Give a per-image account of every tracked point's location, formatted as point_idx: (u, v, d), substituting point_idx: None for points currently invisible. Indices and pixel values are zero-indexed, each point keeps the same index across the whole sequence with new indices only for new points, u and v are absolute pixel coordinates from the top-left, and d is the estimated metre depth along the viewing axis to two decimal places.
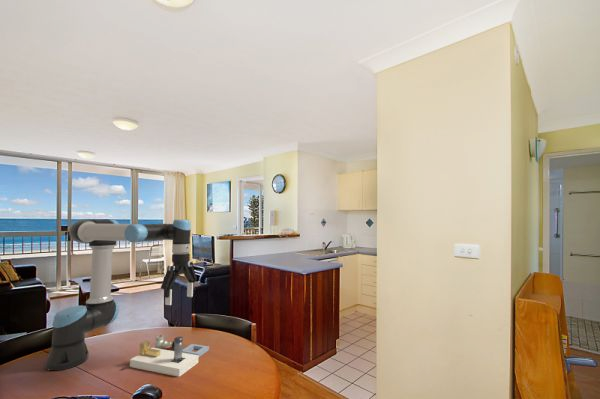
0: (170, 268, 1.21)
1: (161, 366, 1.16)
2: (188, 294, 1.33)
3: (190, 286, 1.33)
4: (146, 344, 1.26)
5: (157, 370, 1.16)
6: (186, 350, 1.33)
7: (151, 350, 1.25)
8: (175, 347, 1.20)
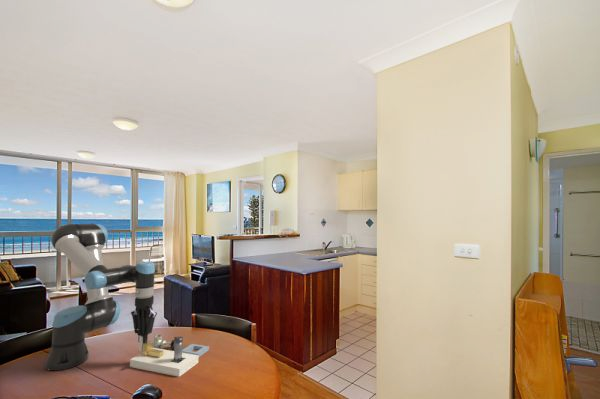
0: None
1: (161, 366, 1.16)
2: None
3: None
4: (149, 344, 1.25)
5: (157, 370, 1.16)
6: (186, 350, 1.33)
7: (154, 351, 1.24)
8: (175, 347, 1.20)
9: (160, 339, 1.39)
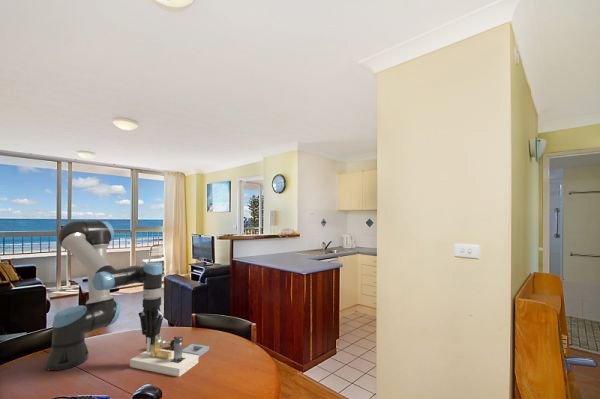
0: None
1: (161, 366, 1.16)
2: None
3: None
4: (157, 346, 1.24)
5: (157, 370, 1.16)
6: (186, 350, 1.33)
7: (162, 352, 1.23)
8: (175, 347, 1.20)
9: (160, 339, 1.39)
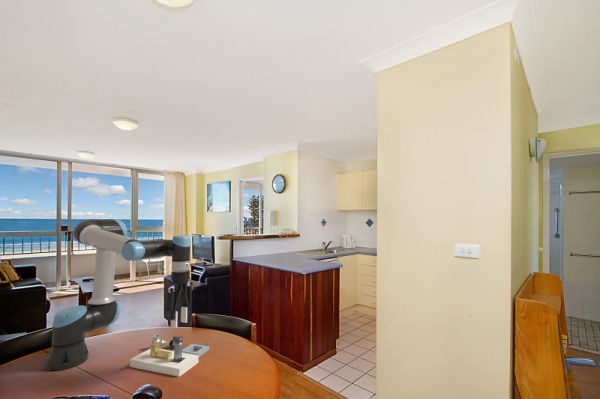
0: (170, 291, 1.17)
1: (161, 366, 1.16)
2: (182, 320, 1.25)
3: (184, 311, 1.25)
4: (157, 346, 1.24)
5: (157, 370, 1.16)
6: (186, 350, 1.33)
7: (162, 352, 1.23)
8: (175, 347, 1.20)
9: (159, 339, 1.39)
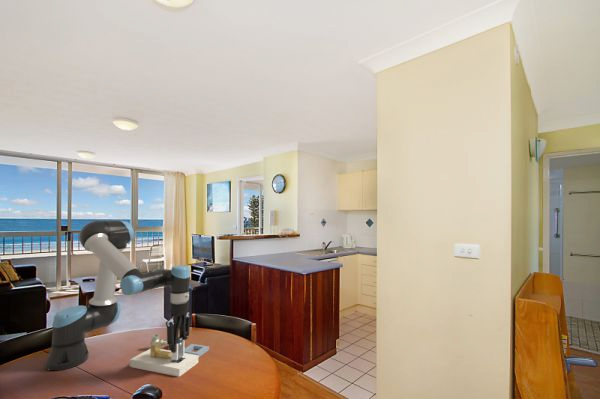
0: (169, 325, 1.16)
1: (161, 366, 1.16)
2: None
3: None
4: (157, 346, 1.24)
5: (157, 370, 1.16)
6: (186, 350, 1.33)
7: (162, 352, 1.23)
8: None
9: (158, 339, 1.40)
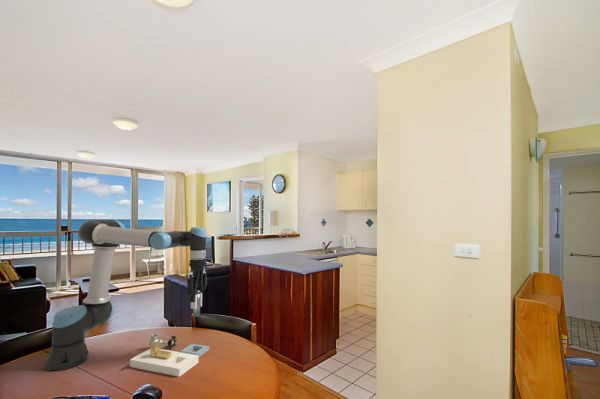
0: (189, 277, 1.31)
1: (161, 366, 1.16)
2: None
3: None
4: (157, 346, 1.24)
5: (157, 370, 1.16)
6: (186, 350, 1.33)
7: (162, 352, 1.23)
8: None
9: (157, 338, 1.40)
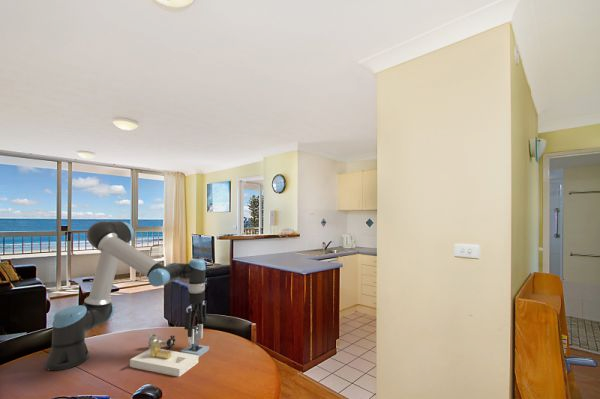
0: (188, 311, 1.30)
1: (161, 366, 1.16)
2: None
3: (200, 328, 1.38)
4: (157, 346, 1.24)
5: (157, 370, 1.16)
6: (186, 350, 1.33)
7: (162, 352, 1.23)
8: None
9: (155, 338, 1.40)
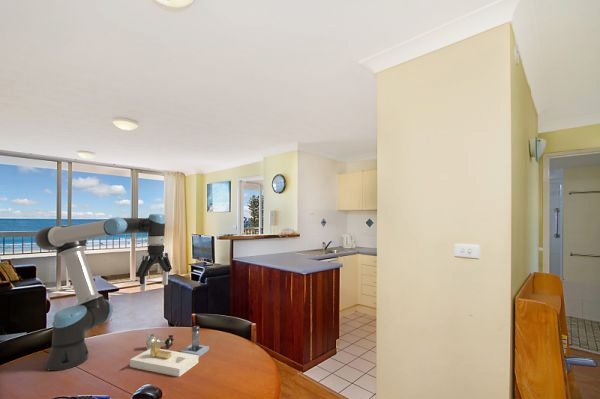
0: (145, 258, 1.34)
1: (161, 366, 1.16)
2: (163, 283, 1.46)
3: (165, 275, 1.46)
4: (157, 346, 1.24)
5: (157, 370, 1.16)
6: (186, 350, 1.33)
7: (162, 352, 1.23)
8: (193, 335, 1.34)
9: (154, 338, 1.40)
